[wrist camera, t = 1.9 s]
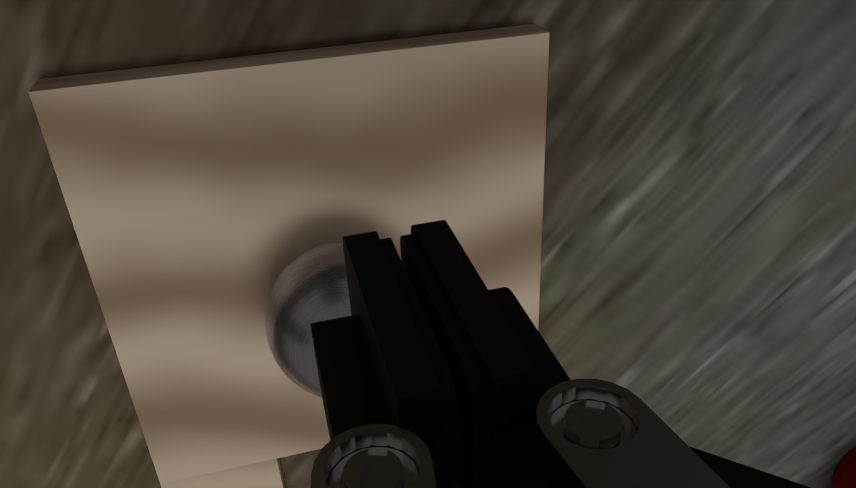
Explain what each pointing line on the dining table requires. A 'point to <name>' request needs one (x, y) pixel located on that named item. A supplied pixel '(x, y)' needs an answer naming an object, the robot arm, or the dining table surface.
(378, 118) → the wooden recessed tray
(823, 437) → the dining table surface
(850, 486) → the plastic cup
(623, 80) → the dining table surface
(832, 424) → the dining table surface
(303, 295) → the steel ball
